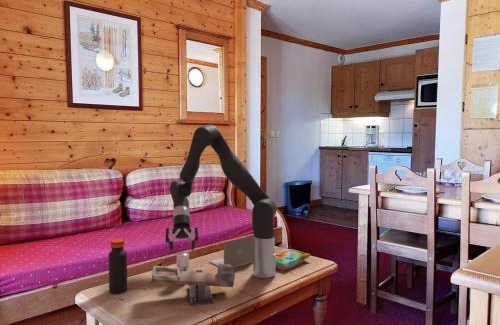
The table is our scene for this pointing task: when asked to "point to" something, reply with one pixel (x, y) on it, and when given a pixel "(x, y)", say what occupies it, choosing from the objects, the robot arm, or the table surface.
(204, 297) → the fulcrum stand
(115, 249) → the bottle
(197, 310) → the table surface
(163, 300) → the table surface
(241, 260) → the laptop
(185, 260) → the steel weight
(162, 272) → the balance beam
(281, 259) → the puzzle game
